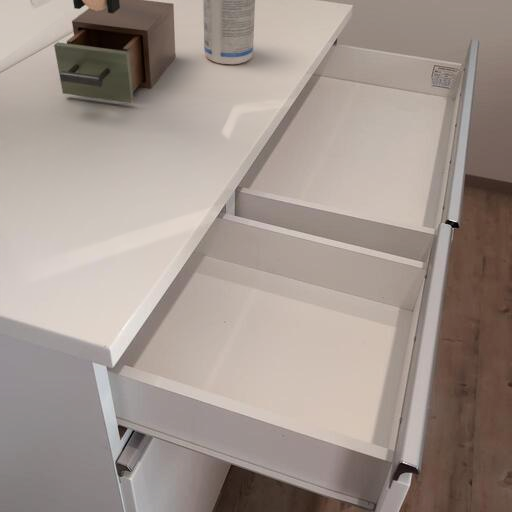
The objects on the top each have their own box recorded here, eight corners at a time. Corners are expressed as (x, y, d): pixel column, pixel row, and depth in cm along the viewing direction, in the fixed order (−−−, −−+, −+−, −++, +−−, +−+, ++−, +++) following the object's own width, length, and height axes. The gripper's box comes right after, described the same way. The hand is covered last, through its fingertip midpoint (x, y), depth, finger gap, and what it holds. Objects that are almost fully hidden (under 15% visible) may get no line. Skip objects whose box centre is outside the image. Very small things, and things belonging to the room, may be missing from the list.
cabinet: (151, 88, 94) (147, 30, 88) (80, 78, 95) (71, 20, 89) (175, 57, 105) (173, 3, 99) (112, 48, 106) (106, -5, 100)
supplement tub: (259, 53, 109) (265, -27, 100) (240, 70, 102) (244, -15, 93) (216, 44, 112) (217, -35, 102) (194, 59, 105) (193, -24, 95)
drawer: (120, 117, 84) (114, 66, 79) (48, 106, 85) (38, 56, 80) (157, 70, 98) (154, 25, 92) (95, 62, 99) (89, 17, 94)
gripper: (-14, -204, 63) (28, 8, 78) (131, -191, 61) (145, 23, 76) (19, -205, 68) (53, -7, 84) (153, -192, 67) (162, 8, 82)
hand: (97, 7), depth 80 cm, fingers closed on egg, 4 cm apart
